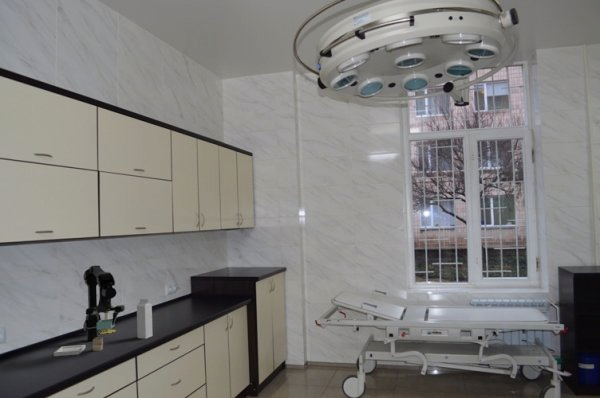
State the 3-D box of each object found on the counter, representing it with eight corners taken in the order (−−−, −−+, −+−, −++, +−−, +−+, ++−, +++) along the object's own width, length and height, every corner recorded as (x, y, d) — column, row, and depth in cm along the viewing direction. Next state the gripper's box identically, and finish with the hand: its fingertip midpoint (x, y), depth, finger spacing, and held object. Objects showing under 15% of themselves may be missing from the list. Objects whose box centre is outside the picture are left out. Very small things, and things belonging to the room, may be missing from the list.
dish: (61, 350, 246) (61, 346, 246) (85, 348, 248) (85, 344, 248) (53, 356, 234) (53, 352, 234) (78, 354, 236) (78, 350, 236)
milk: (144, 335, 271) (143, 298, 272) (152, 336, 269) (151, 298, 270) (137, 338, 265) (136, 300, 266) (145, 338, 263) (144, 300, 264)
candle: (119, 330, 287) (118, 278, 288) (107, 334, 277) (106, 280, 279) (107, 329, 290) (106, 278, 292) (94, 333, 281) (93, 280, 283)
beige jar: (95, 349, 245) (94, 337, 245) (103, 348, 246) (102, 337, 246) (93, 351, 241) (92, 339, 241) (101, 350, 242) (100, 339, 242)
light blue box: (100, 326, 248) (100, 319, 248) (114, 325, 249) (114, 318, 250) (96, 329, 241) (96, 322, 241) (111, 328, 242) (110, 321, 242)
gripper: (82, 300, 237) (82, 330, 236) (119, 297, 240) (120, 327, 239) (88, 296, 248) (89, 325, 247) (124, 294, 251) (125, 323, 250)
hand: (105, 325), depth 245 cm, fingers closed on light blue box, 7 cm apart
